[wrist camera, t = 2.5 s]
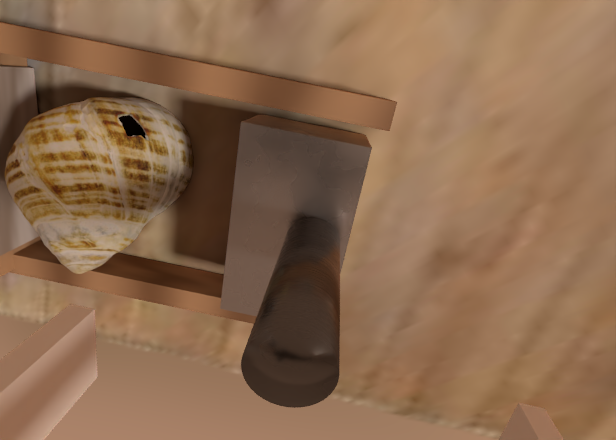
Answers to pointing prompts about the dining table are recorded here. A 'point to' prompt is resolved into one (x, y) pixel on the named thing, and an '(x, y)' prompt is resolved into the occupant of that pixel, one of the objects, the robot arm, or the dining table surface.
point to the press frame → (158, 70)
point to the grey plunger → (291, 252)
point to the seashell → (97, 175)
